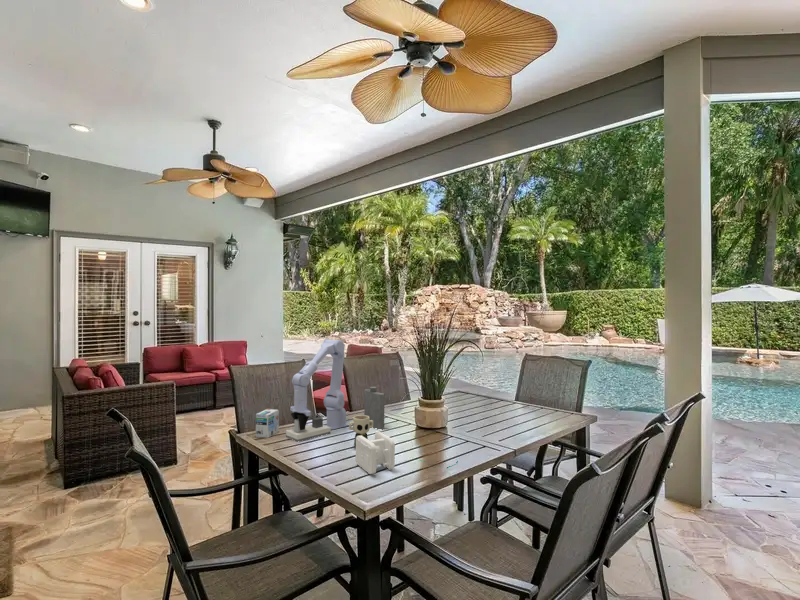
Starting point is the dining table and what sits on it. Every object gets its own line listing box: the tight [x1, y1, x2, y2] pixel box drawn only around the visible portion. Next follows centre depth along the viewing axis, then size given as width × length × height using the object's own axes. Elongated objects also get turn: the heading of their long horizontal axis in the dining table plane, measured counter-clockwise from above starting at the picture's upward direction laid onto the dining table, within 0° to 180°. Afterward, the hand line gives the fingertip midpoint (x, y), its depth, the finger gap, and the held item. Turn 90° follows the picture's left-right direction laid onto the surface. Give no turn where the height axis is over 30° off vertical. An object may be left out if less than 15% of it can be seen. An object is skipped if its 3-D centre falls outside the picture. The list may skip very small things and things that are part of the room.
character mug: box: [348, 414, 373, 448], centre depth 188 cm, size 11×7×13 cm, turn 111°
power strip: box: [285, 424, 332, 443], centre depth 204 cm, size 18×10×3 cm, turn 135°
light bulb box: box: [255, 408, 280, 439], centre depth 205 cm, size 11×7×11 cm, turn 168°
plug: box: [293, 419, 305, 433], centre depth 201 cm, size 4×3×6 cm
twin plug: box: [311, 416, 324, 428], centre depth 208 cm, size 4×3×4 cm
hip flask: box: [363, 386, 386, 430], centre depth 220 cm, size 16×4×20 cm, turn 37°
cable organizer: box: [355, 431, 396, 475], centre depth 164 cm, size 15×11×12 cm
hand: (300, 428), depth 201 cm, fingers closed on plug, 3 cm apart
